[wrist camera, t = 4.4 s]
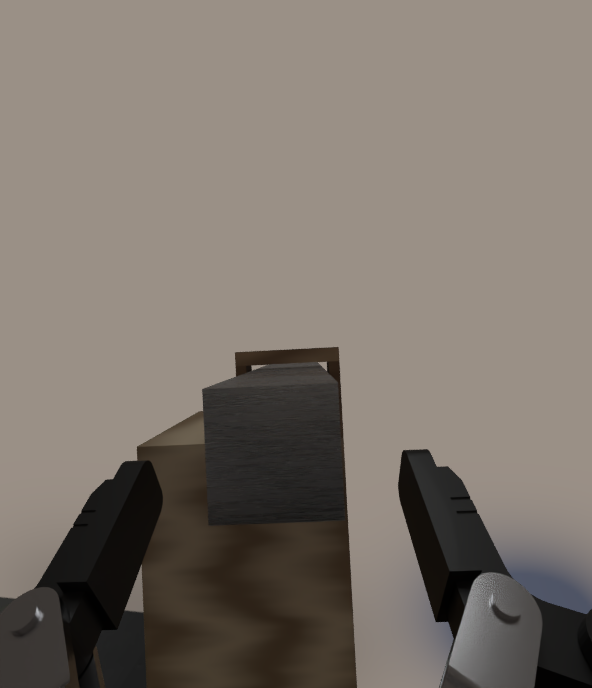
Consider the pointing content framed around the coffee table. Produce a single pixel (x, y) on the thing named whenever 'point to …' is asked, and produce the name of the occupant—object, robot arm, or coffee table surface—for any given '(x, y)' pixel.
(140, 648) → the coffee table surface
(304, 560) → the stand
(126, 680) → the coffee table surface
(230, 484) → the bar
